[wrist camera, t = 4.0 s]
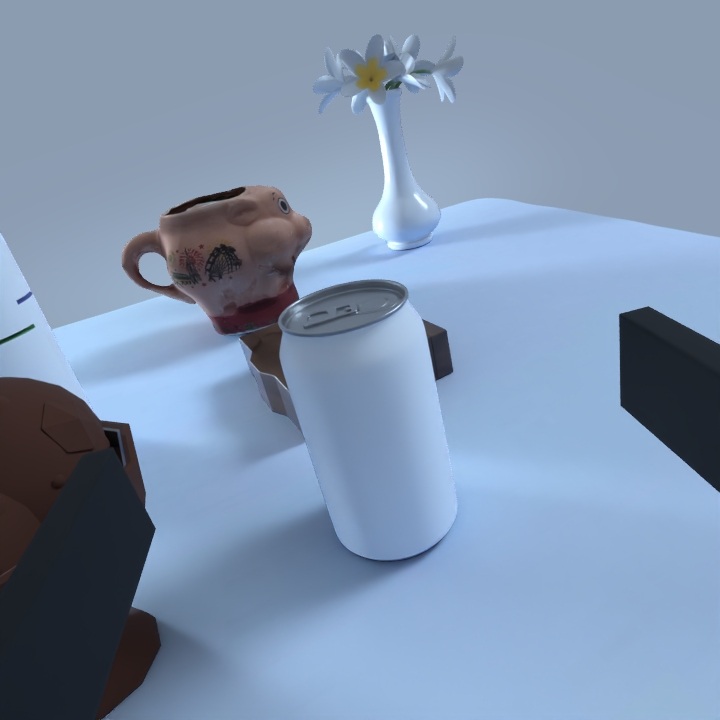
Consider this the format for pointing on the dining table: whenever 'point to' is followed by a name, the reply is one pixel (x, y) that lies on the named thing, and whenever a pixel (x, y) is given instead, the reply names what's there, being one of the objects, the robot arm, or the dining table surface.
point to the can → (370, 416)
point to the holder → (270, 376)
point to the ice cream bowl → (43, 485)
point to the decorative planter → (228, 256)
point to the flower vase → (392, 126)
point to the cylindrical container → (29, 333)
